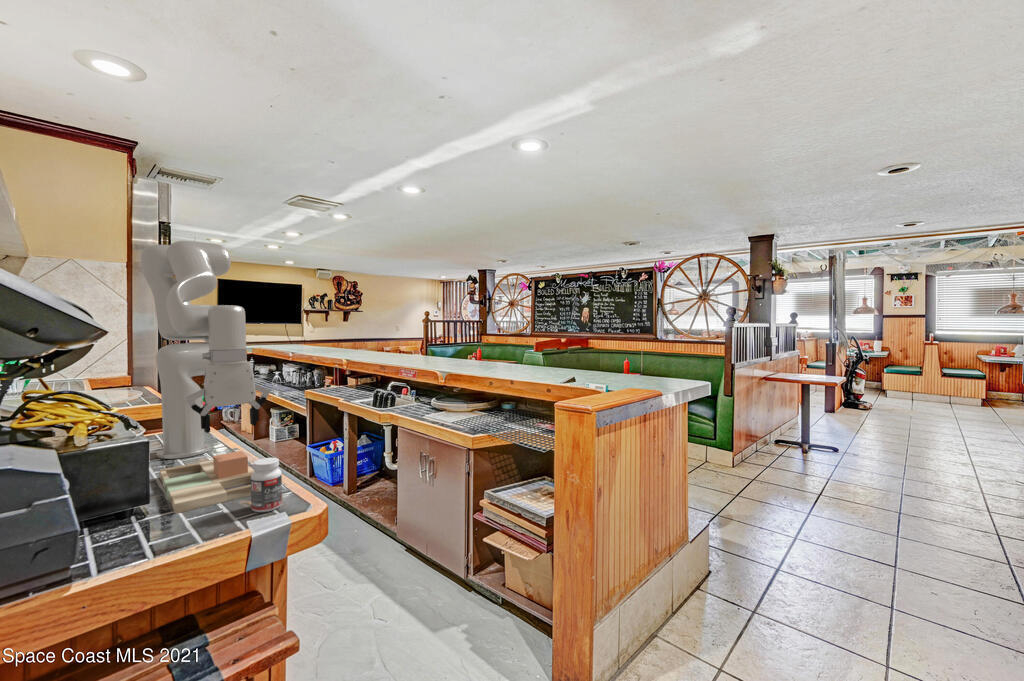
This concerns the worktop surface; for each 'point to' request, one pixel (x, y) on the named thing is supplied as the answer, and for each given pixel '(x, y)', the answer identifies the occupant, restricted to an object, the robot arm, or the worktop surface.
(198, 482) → the board
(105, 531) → the worktop surface
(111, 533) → the worktop surface
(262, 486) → the pill bottle
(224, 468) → the block
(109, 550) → the worktop surface
